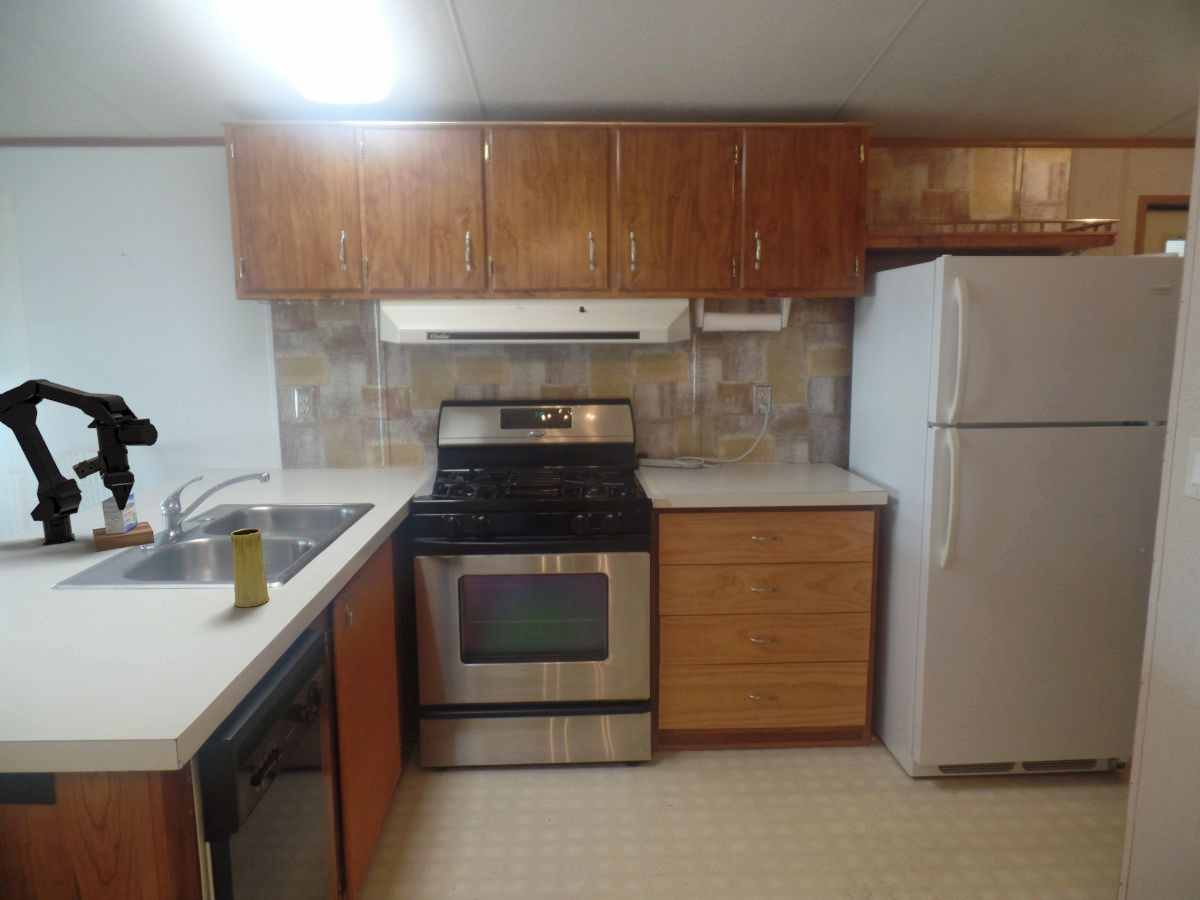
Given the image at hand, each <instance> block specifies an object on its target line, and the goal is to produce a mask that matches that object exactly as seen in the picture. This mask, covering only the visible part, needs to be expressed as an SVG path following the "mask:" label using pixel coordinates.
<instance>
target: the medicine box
mask: <svg viewBox="0 0 1200 900" xmlns="http://www.w3.org/2000/svg"><path fill="white" fill-rule="evenodd" d="M101 507H102V515H103V520H104V521H103V522H104V526H105V527H104V528H106V534H121V533H127V532H128V531H129V530H131V529H132V528H134V527H135V526H136V525H138V523H139V521H138V520H139V519H138V515H137V514H138V513H137V507H136V499H135V494H134V493H133V492H130V495H129V498H128V501H127V504H126V506H125V509H124V510H119V509H118V506H117V503H116V500H115V498H114V496H113V495H112V496H110V497H108V498H107V499H105V500H103V501H101Z"/></svg>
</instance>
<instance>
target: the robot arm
mask: <svg viewBox="0 0 1200 900" xmlns="http://www.w3.org/2000/svg"><path fill="white" fill-rule="evenodd" d="M44 399H45V400H47V401H51V402H56V403H58V404H63V405H66V406H69V407H71V408H72V407H73V408H76V409H78V410H80V411H82V412H83V413H84V415H87V416H88V417H90V418H93V420H92V421H91V422H90V423H89V424H88V425H86V426H87V428H88V429H96V436H97V444H98V451H97V456H93V457H91V458H89V459H84V460H82V461H79V462H78V463H76V464H74V465H72V466H71V468H72V470H73V471H74V472H75V474H76V476H77V477H78V479H79V480H83V479H86V478H87V477H89V476H91V475H93V474H96V473H98V474H99V476H100V479H101V480H102V483H103V486H104V488H106V489H107V490H109V491H111V493H112V496H114V498H115V500H116V503H117V506H118V509H119V510H124V509H125V506H126V504H127V501H128V498H129V495H130V493H132V489H133V488H134V485H135V482H136V481H135V475H134V473H133V472H132V471H131V466H130V464H129V457H128V456H129V455H128V454H129V450H128V447H152V446H153V445H155V444H156V442H157V440H158V435H159V433H158V430H157V429H156V426H155V425H154V424H152V422H151V420H150V418H138V417H137V415H136V414H135V413H134V411H132V410H131V409H132V408H130V406H128V404H127V403H126V401H125V399H124V397H123V396H121V395H119V394H113V393H99V392H98V393H96V392H95V393H94V392H88V391H85V390H82V389H81V390H80V389H77V388H75V387H70V386H66V385H63V384H59V383H56V382H53V381H50V380H48V379H45V378H39V379H38V378H37V379H28V380H26V381H24V382H23V383H21V384H20V385H18V386H15V387H13V388H10V389H8V390H6V391H4V392H3V393H0V423H1V424H3V425H4V426H5V427H7V428H9V430H11V431H12V433H13V435H14V436H15V439H16V441H17V443H18V444H19V447H20V448H21V450H22V452H23V455H24V456H25V457H24V458H26V460H27V463H28V464H29V466H30V468H31V470H32V472H33V475H34V476H35V479H36V480H37V483H38V485H37V490H36V497H37V499H38V500H37V501H38V504H37V505H36V506H35V507H34V509H33V510H32V511H30V516H31V518H32V520H33V522H42V529H43V530H42V531H43V536H44V537H42V545H43V546H45V545H52V544H58V543H60V544H61V543H65V542H72V541H75V540H76V536H75V533H73V529H72V527H73V526H72V519H71V515H74V514H78V513H79V508H80V505H81V503H82V500H83V497H82V493H83V490H82V489H80V487H79V485H78V483H77V480H76V479H75V478H69V479H68V478H67V477H66V476H63V474H62V473H61V472H60V469H59V467H58V465H57V463H56V461H55V458H54V457H53V455H52V453H51V451H50V449H49V447H48V444H47V443H46V441H45V439H44V438H43V437H44V436H43V435H42V433H41V431H40V429H39V427H38V425H37V419H38V408H37V405H39V404H40V403H42V402H43V401H44ZM127 446H128V447H127Z"/></svg>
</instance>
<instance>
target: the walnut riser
mask: <svg viewBox="0 0 1200 900" xmlns="http://www.w3.org/2000/svg"><path fill="white" fill-rule="evenodd" d="M92 535H93V541H94V546H95V550H96V553H97V552H103V551H109V550H110V551H111V550H115V549H116V550H117V549H121V548H122V549H123V548H129V547H134V546H141V545H142V546H143V545H146V544H147V545H148V544H153V543H155V535H154V530H153V529H152V526H151V525H150V523H149V522H148V521H141V522H138V525H136V526H135V527H134V528H132V529H131V530H129V531H128V532H127V533H121V534H106V528H105V527H100V528H99V527H98V528H92Z"/></svg>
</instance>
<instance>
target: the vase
mask: <svg viewBox="0 0 1200 900" xmlns="http://www.w3.org/2000/svg"><path fill="white" fill-rule="evenodd" d="M230 542H231V555H232V562H233V563H232V564H233V565H232V566H233V569H232V570H233V580H234V581H233V583H234V587H233V588H234V605H235V606H236V607H237V606H238V608H243V607H246V608H252V607H251V606H255V607H258V606H257V605H259V606H261V605H260V604H262V605H264V604H266V603H267V602H268V601H269V600H270V597H269V592H268V582H267V575H266V574H267V573H266V568H265V567H266V566H265V560H264V552H263V541H262V532H261V529H260V528H256V527H255V528H254V527H253V528H252V527H251V528H250V527H249V528H242V529H237V530H233V531H231V533H230ZM266 601H267V602H266ZM265 602H266V603H265ZM263 603H264V604H263Z"/></svg>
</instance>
